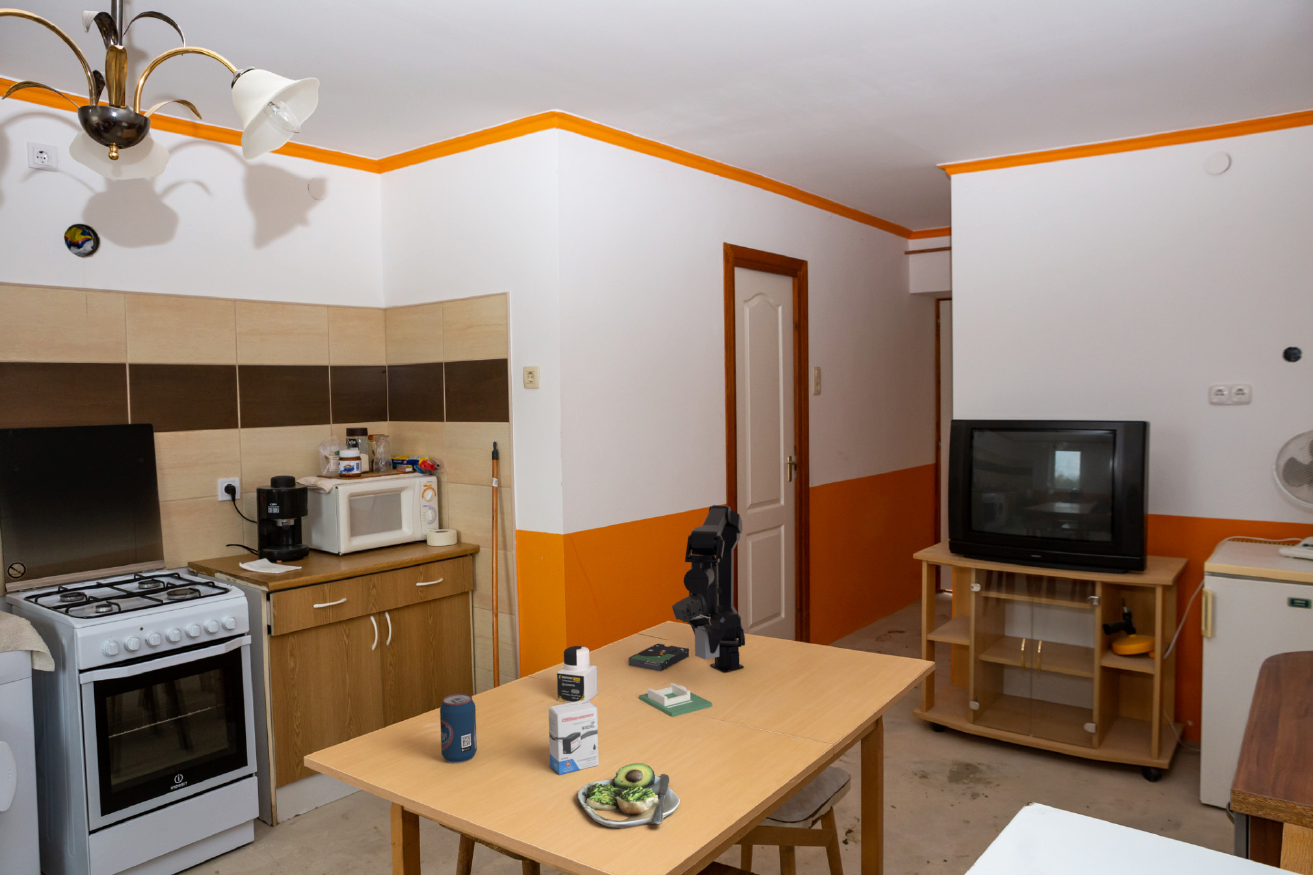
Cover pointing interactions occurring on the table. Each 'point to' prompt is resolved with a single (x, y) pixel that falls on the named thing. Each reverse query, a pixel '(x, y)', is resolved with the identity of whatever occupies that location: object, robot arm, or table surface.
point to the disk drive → (658, 657)
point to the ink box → (573, 736)
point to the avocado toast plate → (630, 797)
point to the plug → (703, 644)
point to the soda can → (458, 728)
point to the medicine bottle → (577, 676)
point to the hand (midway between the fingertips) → (707, 650)
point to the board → (674, 700)
